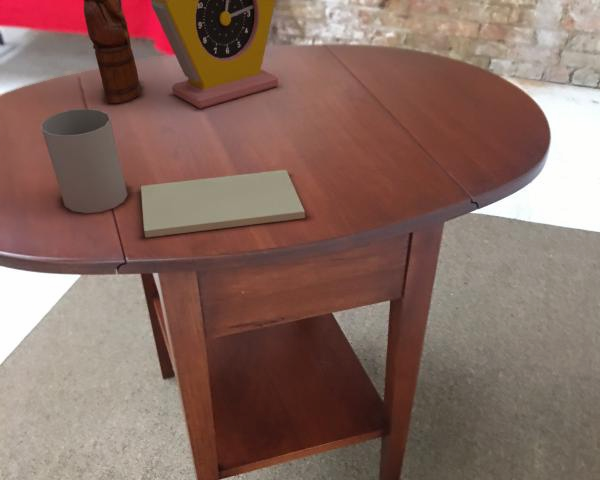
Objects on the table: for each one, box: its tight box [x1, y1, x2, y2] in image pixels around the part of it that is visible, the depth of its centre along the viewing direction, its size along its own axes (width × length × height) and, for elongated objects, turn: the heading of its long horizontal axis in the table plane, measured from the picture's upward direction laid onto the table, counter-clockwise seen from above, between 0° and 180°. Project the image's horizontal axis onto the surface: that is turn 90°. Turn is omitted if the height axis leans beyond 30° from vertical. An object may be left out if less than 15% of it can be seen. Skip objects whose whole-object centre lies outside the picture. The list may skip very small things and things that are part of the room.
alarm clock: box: [150, 0, 279, 110], centre depth 105 cm, size 22×9×22 cm, turn 128°
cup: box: [40, 108, 128, 214], centre depth 81 cm, size 8×8×10 cm
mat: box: [140, 169, 306, 238], centre depth 83 cm, size 20×12×1 cm, turn 102°
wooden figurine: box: [83, 0, 141, 104], centre depth 106 cm, size 12×6×18 cm, turn 9°
